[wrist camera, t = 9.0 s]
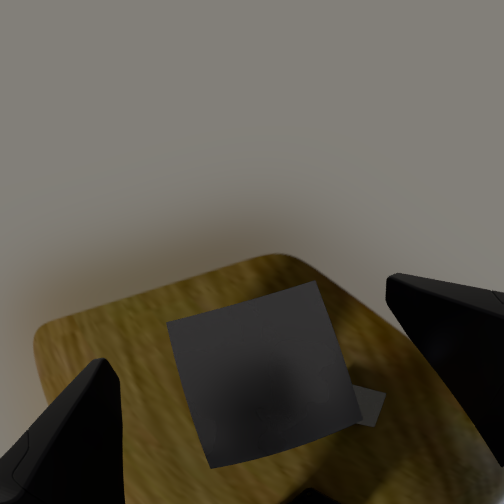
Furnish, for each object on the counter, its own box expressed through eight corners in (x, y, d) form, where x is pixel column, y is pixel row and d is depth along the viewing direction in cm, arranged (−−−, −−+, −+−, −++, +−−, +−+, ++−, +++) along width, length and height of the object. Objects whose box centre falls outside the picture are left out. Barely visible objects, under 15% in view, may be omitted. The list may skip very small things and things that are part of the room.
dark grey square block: (302, 394, 17) (363, 419, 7) (231, 416, 17) (210, 468, 7) (280, 327, 19) (315, 280, 9) (210, 347, 19) (166, 322, 9)
